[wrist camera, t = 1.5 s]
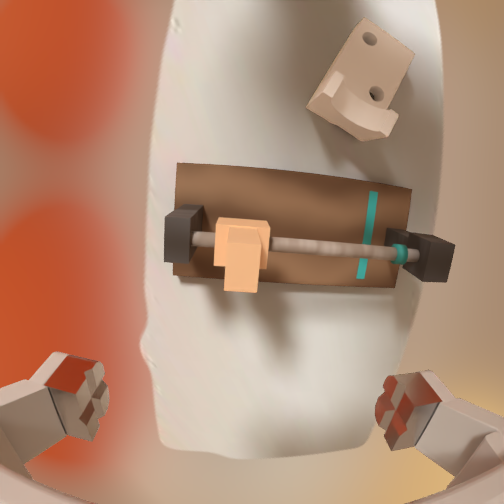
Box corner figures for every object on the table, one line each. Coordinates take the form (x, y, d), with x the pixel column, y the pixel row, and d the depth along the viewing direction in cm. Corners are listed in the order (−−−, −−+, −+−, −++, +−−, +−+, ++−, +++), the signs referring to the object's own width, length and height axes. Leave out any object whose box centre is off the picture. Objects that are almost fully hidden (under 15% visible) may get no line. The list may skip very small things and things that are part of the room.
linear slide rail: (179, 163, 31) (151, 160, 21) (405, 188, 33) (462, 199, 22) (175, 270, 34) (150, 313, 24) (389, 283, 36) (434, 323, 25)
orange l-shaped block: (218, 217, 26) (209, 239, 18) (266, 220, 26) (278, 244, 18) (216, 254, 26) (207, 290, 19) (263, 257, 27) (273, 295, 19)
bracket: (358, 142, 32) (388, 137, 24) (305, 107, 31) (322, 92, 23) (401, 61, 29) (433, 44, 22) (353, 28, 28) (377, 2, 21)
